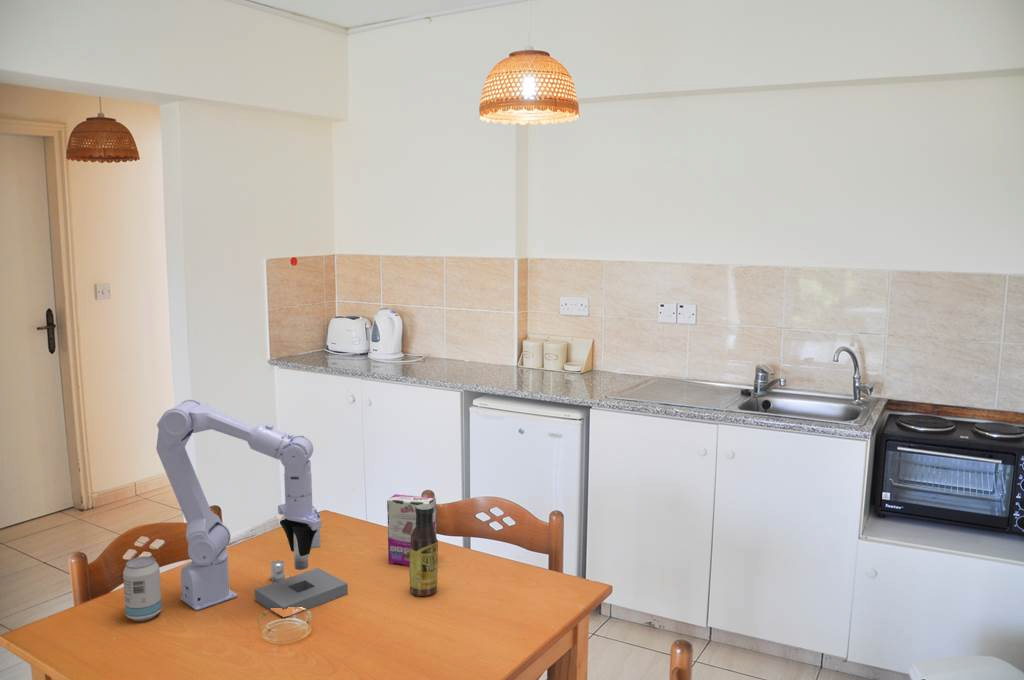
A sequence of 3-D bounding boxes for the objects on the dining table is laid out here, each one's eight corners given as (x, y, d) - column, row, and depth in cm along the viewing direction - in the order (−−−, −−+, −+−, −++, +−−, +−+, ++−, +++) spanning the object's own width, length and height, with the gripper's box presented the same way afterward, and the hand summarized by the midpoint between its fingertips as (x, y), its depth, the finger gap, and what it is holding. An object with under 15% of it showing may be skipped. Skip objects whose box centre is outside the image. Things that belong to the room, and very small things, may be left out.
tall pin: (299, 571, 175) (298, 531, 174) (291, 567, 177) (290, 528, 176) (311, 566, 177) (309, 527, 176) (303, 563, 179) (302, 524, 178)
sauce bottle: (424, 600, 177) (423, 514, 174) (403, 592, 181) (402, 507, 178) (444, 589, 182) (443, 505, 179) (424, 582, 186) (423, 500, 183)
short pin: (275, 583, 185) (274, 566, 184) (268, 579, 187) (268, 563, 186) (287, 579, 187) (286, 563, 187) (280, 575, 189) (279, 559, 189)
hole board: (283, 618, 168) (283, 607, 168) (255, 600, 176) (254, 589, 176) (347, 594, 180) (347, 583, 179) (318, 577, 188) (317, 567, 188)
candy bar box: (437, 561, 197) (437, 497, 195) (429, 569, 193) (429, 504, 190) (396, 556, 201) (395, 492, 198) (387, 563, 196) (386, 499, 194)
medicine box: (297, 538, 211) (296, 507, 210) (314, 536, 213) (314, 504, 212) (303, 549, 204) (302, 517, 203) (321, 546, 206) (320, 514, 205)
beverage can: (169, 610, 172) (166, 557, 170) (146, 625, 165) (143, 570, 163) (142, 606, 173) (138, 553, 172) (118, 621, 167) (114, 566, 165)
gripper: (332, 496, 173) (334, 556, 174) (296, 481, 183) (298, 538, 184) (304, 504, 168) (306, 566, 169) (268, 488, 178) (271, 547, 179)
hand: (300, 552), depth 177 cm, fingers closed on tall pin, 3 cm apart
